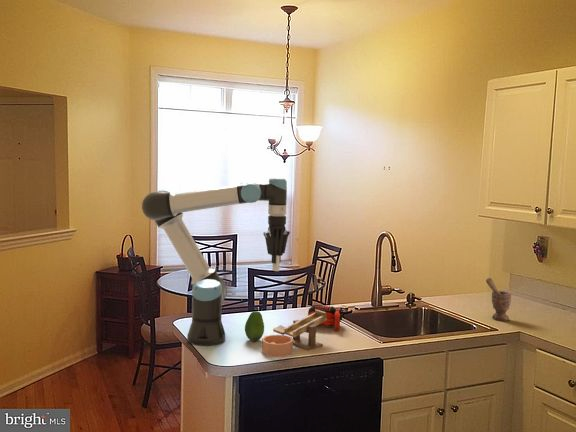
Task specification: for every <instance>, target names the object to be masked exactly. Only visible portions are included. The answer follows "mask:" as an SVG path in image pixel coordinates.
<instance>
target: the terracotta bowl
mask: <svg viewBox="0 0 576 432" xmlns="http://www.w3.org/2000/svg"><path fill="white" fill-rule="evenodd" d="M262 337H263V338H262ZM262 337H261V352H262V354H264V355H266V356H271V357H286V356H289V355H292V353H293V352H294V345H293V339H292V338H293V337H292V336H289V335H286V334H284V335H282V334H269V335H266V336H262ZM271 342H275V343H276V344H274V343H271Z"/></svg>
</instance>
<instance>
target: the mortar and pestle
mask: <svg viewBox="0 0 576 432" xmlns="http://www.w3.org/2000/svg"><path fill="white" fill-rule="evenodd" d="M485 282H486V284H487V285H488V286H489V288H490V289H491V290H492V291H491V303H492V307H493V309H494V310H495V313H494V314H492V319H493V320H494V321H500V322H506V321H509V320H510V318H509V316H508V315H507V312H508V310H509V309H510V305H511V302H512V301H511V299H512V293H511V292H510V291H504V290H498V288H497V287H496V285H495V282H494V280H493V279H492V278H491V277H489V278H486V280H485Z"/></svg>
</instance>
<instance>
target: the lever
mask: <svg viewBox="0 0 576 432" xmlns="http://www.w3.org/2000/svg"><path fill="white" fill-rule="evenodd" d="M326 320H327V316H326V312H323V311H320V310H317V309H316V310H315V313H313V314H311V315H309V316H308V315H306V317H303V318H302V319H300V321H298V322H296V323H294V324H293V323H292V324H290V325H288V326H287V327H286V326H284V325H279V326H277V327H274V328H273V329H272V331H273V332H274V333H277V334H278V335H285V336H288V337H291V338H293V337H297V336H299V335H300V336H301V335H302V334H304V333H306V334H309V326H311V325H315V326H316V327H317V326H320V325H319V324H321V323H323V322H324V321H326Z"/></svg>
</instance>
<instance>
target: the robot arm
mask: <svg viewBox="0 0 576 432" xmlns="http://www.w3.org/2000/svg"><path fill="white" fill-rule="evenodd" d="M287 183H288V181H287V179H286V178H280V177H279V178H276V177H275V178H274V177H273V178H272V177H271V178H269V179H268V182H252V181H251V182H250V181H248V182H241V183H240V184H237V185H235V184H234V185H229V186H223V187H215V188H209V189H201V190H193V191H188V192H181V193H174V192H172V191H170V192H169V191H167V190H158V191H152V192H149V193H148V194H147V195H146V196H144V198H143V200H142V203H141V210H142V213H143V214H144V216H145V217H146V218H147V219H149V220H152V221H154V222H155V224H156V225H157V228H159V229H161V230H164V233H165V234H166V235H167V237H168V240H169V241H170V242H171V244H172V246H173V248H174V249H175V251H176V253H177V254H178V256H179V258H180V260H181V261H182V263H183V265H184V266H185V269H186V270H187V272H188V273H189V275H190V276H191V278H192V279H191V283H190V284H191V286H192V289H191V295H192V298H191V299H192V301H191V307H192V308H191V323H190V325H189V326H190V327H189V329H188V333H187V339H186V341H187V342H188V343H189V344H192V345H195V346H215V345H219V344H222V343H224V342H225V340H226V331H225V328H224V326H223V322H222V303H223V302H224V301H225V298H226V297H227V293H228V288H227V283H226V282H225V280H224V279H223V278H222V277H220V276H219V274H218V272H217V270H216V269H214V268H211V267H210V266H209V263H208V261H207V260H206V259H205V257H204V255H203V253H202V252H201V250H200V248H199V246H198V244H197V243H196V241H195V240H194V238H193V236H192V234H191V233H190V231H189V229H188V227H187V226H186V223H184V221H183V216H184V213H186V212H187V213H188V212H194V211H201V210H202V211H203V210H208V209H209V210H210V209H215V208H222V207H228V206H229V207H230V206H234V205H240V204H241V205H242V204H252V203H253V204H254V203H256V202H258V201H259V202H260V201H261V202H262V201H263V202H268V210H267V213H268V214H267V215H268V216H267V223H268V228H267V231H263V234H262V235H263V236H264V239H265V244H266V250H267V255H270V256H271V263H272V271H274V272H280V263H281V258H282V256H283V255H284V254H285V252H286V247H287V243H288V237H289V235H290V234H291V232H290V230H287V229H286V224H287V216H286V215H287V201H288V200H287V197H288V196H287V195H288V193H287V192H288V186H287V185H288V184H287Z"/></svg>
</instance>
